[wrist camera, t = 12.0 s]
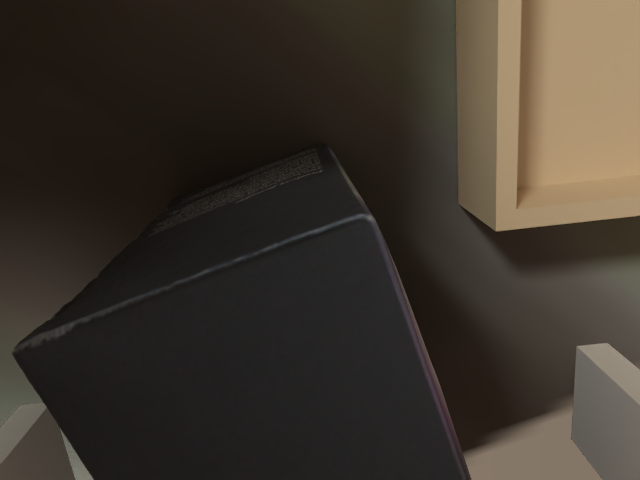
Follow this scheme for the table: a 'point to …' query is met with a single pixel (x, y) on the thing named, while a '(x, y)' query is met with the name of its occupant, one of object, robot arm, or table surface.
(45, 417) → the robot arm
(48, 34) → the table surface
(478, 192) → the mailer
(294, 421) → the small box
